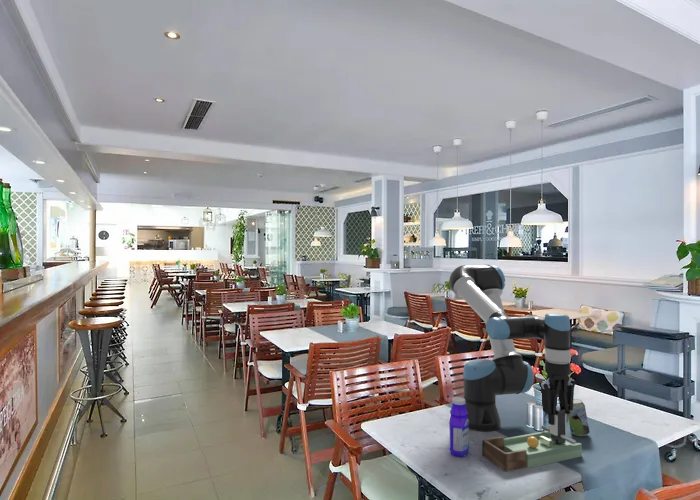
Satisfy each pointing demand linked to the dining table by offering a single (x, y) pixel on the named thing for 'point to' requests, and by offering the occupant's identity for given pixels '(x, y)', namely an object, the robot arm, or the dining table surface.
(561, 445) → the pitch
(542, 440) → the kicker
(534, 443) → the ball
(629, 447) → the dining table surface
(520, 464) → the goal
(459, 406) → the bottle
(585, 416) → the beverage can
